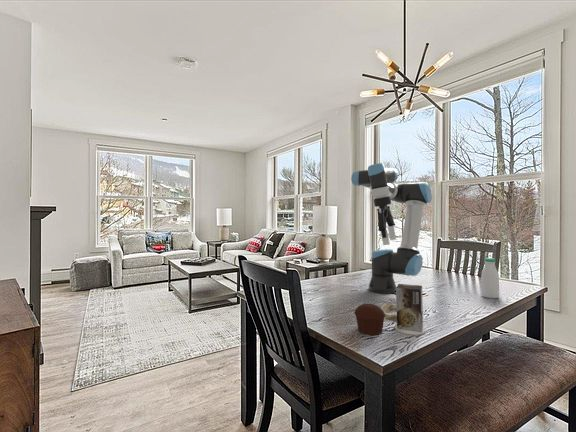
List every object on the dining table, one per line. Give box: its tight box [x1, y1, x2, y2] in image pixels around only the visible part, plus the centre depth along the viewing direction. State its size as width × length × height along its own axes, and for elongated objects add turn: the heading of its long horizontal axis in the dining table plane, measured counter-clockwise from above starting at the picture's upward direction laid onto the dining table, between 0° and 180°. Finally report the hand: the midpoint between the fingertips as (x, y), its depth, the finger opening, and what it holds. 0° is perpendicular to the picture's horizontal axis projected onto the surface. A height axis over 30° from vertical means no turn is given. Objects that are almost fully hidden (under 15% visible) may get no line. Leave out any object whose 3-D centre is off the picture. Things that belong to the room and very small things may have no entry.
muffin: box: [353, 303, 385, 337], centre depth 120 cm, size 12×11×10 cm
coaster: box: [394, 323, 426, 336], centre depth 121 cm, size 11×11×1 cm
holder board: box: [380, 302, 397, 322], centre depth 137 cm, size 16×16×2 cm
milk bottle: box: [480, 257, 500, 299], centre depth 162 cm, size 8×8×20 cm
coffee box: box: [395, 283, 424, 332], centre depth 120 cm, size 9×6×16 cm
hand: (390, 242), depth 145 cm, fingers open, 13 cm apart
